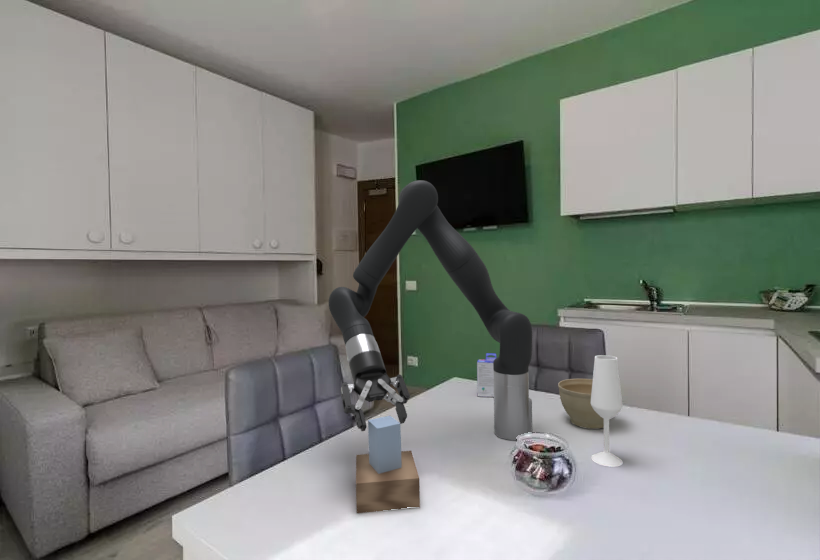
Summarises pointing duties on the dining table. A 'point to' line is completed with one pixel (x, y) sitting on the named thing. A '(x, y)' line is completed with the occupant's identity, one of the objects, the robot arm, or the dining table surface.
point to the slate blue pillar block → (384, 444)
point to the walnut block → (386, 485)
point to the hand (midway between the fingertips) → (384, 425)
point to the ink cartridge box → (485, 376)
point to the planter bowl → (579, 403)
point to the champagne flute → (606, 402)
